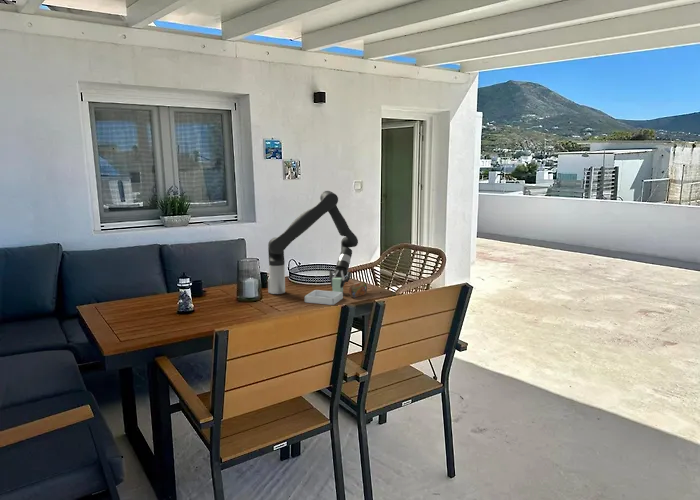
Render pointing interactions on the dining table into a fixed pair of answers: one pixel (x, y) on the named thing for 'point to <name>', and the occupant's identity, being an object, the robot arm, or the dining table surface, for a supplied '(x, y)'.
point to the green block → (337, 284)
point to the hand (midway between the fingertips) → (336, 286)
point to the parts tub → (323, 297)
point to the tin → (357, 289)
